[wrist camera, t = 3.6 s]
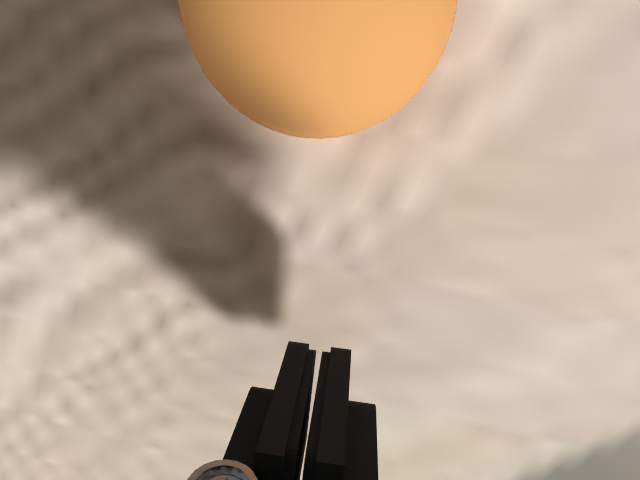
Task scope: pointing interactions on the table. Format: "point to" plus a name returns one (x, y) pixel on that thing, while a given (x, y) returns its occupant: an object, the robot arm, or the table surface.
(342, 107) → the ball
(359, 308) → the table surface
